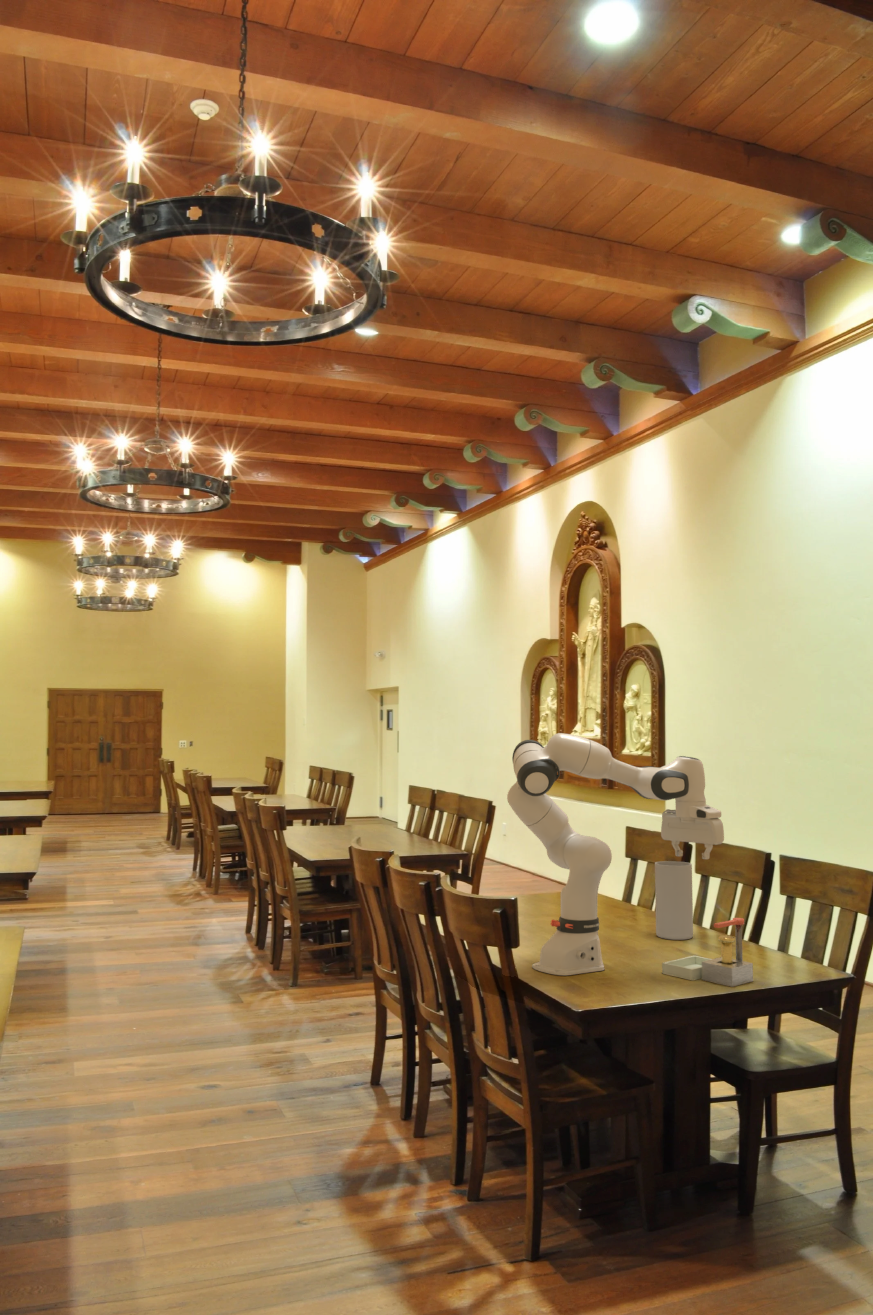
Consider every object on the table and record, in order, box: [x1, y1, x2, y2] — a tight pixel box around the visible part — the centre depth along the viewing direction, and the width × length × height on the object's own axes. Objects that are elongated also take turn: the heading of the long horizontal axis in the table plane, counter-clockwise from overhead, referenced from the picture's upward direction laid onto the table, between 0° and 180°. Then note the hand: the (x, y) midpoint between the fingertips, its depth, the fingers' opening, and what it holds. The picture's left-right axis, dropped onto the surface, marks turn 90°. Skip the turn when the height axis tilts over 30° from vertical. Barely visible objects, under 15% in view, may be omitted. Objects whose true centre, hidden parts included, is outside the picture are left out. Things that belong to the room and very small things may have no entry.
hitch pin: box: [718, 935, 736, 965], centre depth 276 cm, size 4×4×12 cm
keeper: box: [713, 917, 745, 929], centre depth 277 cm, size 12×3×1 cm, turn 129°
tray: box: [661, 955, 712, 981], centre depth 284 cm, size 16×11×3 cm
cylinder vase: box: [654, 860, 694, 941], centre depth 336 cm, size 12×12×25 cm
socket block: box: [701, 925, 754, 988], centre depth 276 cm, size 12×10×15 cm
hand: (692, 857), depth 288 cm, fingers open, 8 cm apart
